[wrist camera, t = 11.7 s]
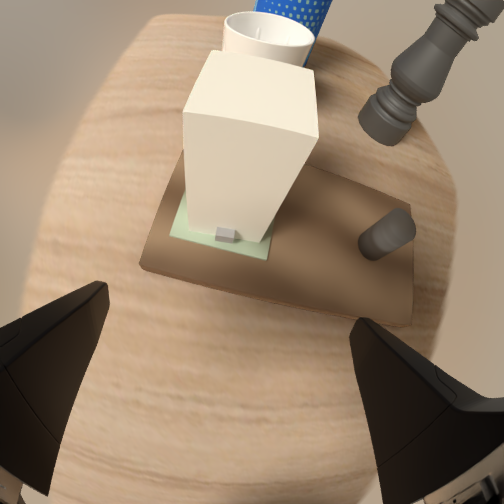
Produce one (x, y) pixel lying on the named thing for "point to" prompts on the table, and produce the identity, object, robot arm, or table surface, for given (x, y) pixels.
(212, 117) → the tall white prism
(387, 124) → the candle holder
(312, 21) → the beer can
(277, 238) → the board
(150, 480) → the table surface
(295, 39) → the white cup
